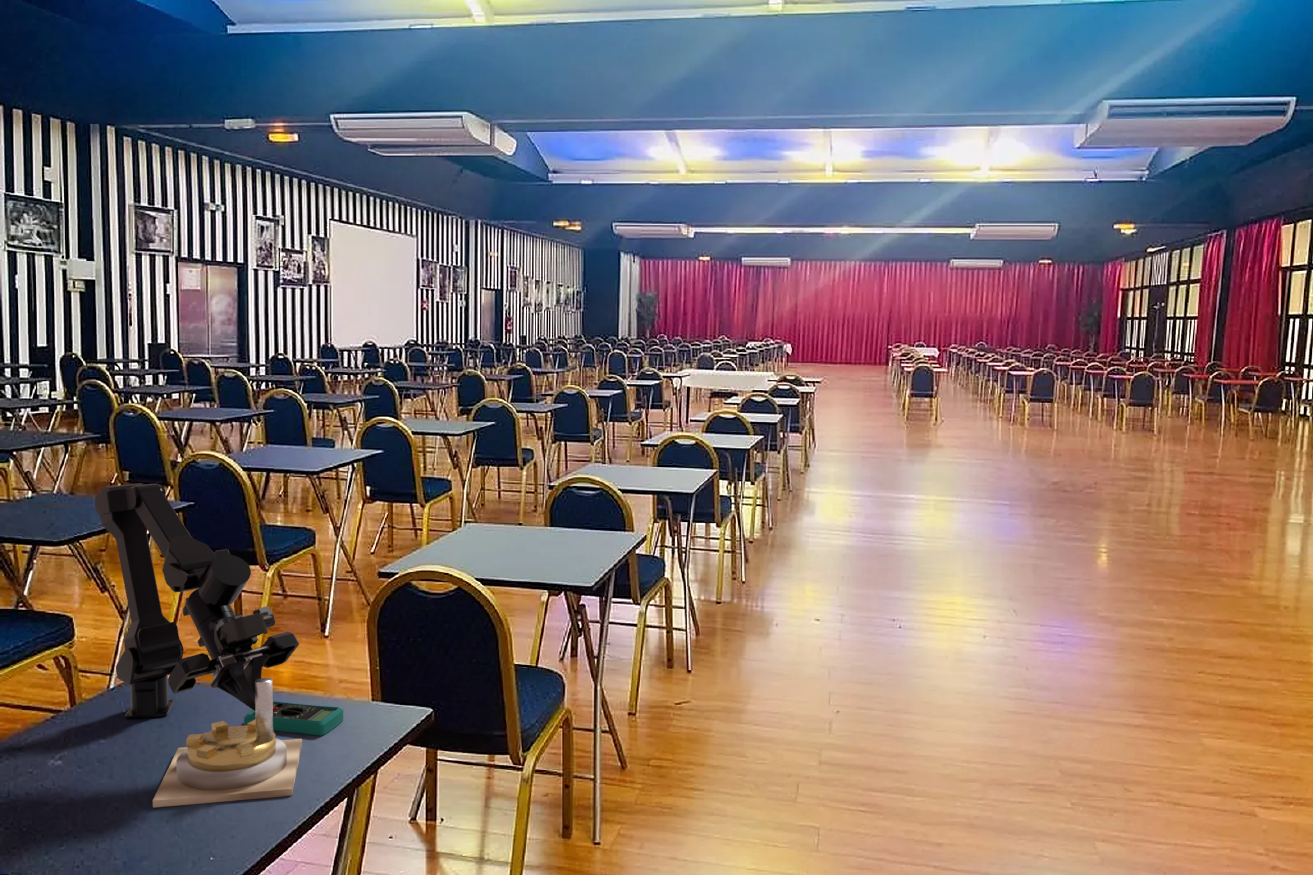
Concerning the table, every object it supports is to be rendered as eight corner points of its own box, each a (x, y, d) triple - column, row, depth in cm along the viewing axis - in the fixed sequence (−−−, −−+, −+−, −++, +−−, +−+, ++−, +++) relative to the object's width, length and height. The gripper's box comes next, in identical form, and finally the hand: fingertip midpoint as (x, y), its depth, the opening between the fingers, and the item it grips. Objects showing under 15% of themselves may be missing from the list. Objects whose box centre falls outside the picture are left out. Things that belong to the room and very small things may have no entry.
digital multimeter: (265, 714, 175) (264, 697, 175) (345, 722, 173) (345, 705, 172) (240, 731, 168) (239, 713, 168) (323, 739, 165) (323, 722, 165)
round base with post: (239, 731, 159) (237, 663, 158) (294, 748, 153) (293, 677, 152) (168, 760, 148) (166, 686, 147) (225, 779, 142) (223, 703, 141)
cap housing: (178, 754, 157) (178, 735, 157) (302, 744, 162) (301, 726, 162) (152, 807, 140) (152, 786, 140) (292, 795, 145) (291, 775, 144)
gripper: (177, 604, 146) (221, 697, 140) (291, 581, 161) (335, 664, 156) (149, 647, 151) (191, 738, 146) (262, 620, 166) (304, 702, 161)
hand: (259, 708), depth 152 cm, fingers closed
